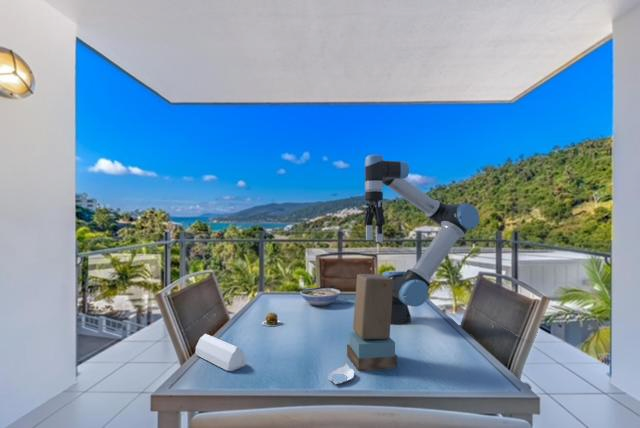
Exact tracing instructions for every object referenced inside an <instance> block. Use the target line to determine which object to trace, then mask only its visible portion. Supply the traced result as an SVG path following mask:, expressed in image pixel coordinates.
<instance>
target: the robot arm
mask: <svg viewBox="0 0 640 428" xmlns="http://www.w3.org/2000/svg"><path fill="white" fill-rule="evenodd" d="M364 171H365V173H364V175H365V177H364V181H365V182H364V190H365V193H364V195H365V197H364V199H365V201H368V202H367V203H366V207H365V208H366V210H365V216H364V225H365V240H366V241H373V225H374V226H375V242H376V243H383V242H384V241H383V240H384V237H383V236H384V234H383V233H384V231H383V229H384V225H385V224H386V222H385V216H384V209H383V202H382V201H383V200H384V193H383V189H384V185H385V186H386V187H387V188H389V189H390V190H391V191H393V192H394V193H396V194H397V195H399V196H400V197H401V198H403V199H405V200H406V201H407V202H409V203H410V204H412V205H413V206H415V207H416V208H418V209H419V210H420V211H422V212H423V213H424V216H425V217H427V219H429V220H431V221H432V222H433V223H436V224H437V225H439V226H440V229H439V231H438V232H437V233H436V235H435V236H434V238H433V239H432V241H430V244H429V245H428V246H427V248H426V249H425V250H424V252H423V253H422V255H421V256H420V257H419V259H418V260H417V261H416V262H415V263H416V264H415V265H414V266H413V267H412V268H408V269H407V270H406V271H404V270H403V271H401V270H400V271H399V270H397V271H395V270H394V271H384V272H382V274H381V275H384V276H386V277H388V278H391V279H393V295H392V310H391V324H390V325H404V324H409V323H411V321H412V317H411V312H410V309H409V307H420V306H422V305H423V304H425V302H426V301H427V300H428V298H429V295H430V294H429V291H430V290H429V287H430V286H431V282H430V281H431V280H430V279H431V278H432V277H433V276H434V274H435V272H436V271H437V270H438V269H439V266H440V265H441V264H442V263H443V261H444V260H445V258H446V257H447V255H448V254H449V252H450V251H451V250H452V248H453V246H454V245H455V244H456V242H457V241H458V239H461V238H464V237H465V236H466V234H467V233H468V232H469V231H471V230H474V229H476V228H477V226H478V225H479V223H480V215H479V214H480V213H479V211H478V209H477V208H476V207H475V206H474V205H472V204H470V203H465V202H464V203H460V204H459V203H457V204H456V203H455V204H446V203H444V202H441V201H440V200H438V199H433V198H432V197H431V196H429V195H428V194H426V193H425V192H424V191H422V190H421V189H419V188H417V186H415V185H413V184H412V183H411V182H409V181H407V180H406V178H407V177H409V174H410V165H409V164H408V162H406V161H401V160H398V161H397V160H384V157H383V155H380V154H369V155H367V156H366V157H365V160H364ZM373 220H375V224H373ZM408 306H409V307H408Z"/></svg>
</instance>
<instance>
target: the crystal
mask: <svg viewBox="0 0 640 428" xmlns="http://www.w3.org/2000/svg"><path fill="white" fill-rule="evenodd" d="M196 354H197V355H196ZM195 355H196V356H197V357H200V358H202V359H203V360H206V361H207V362H209V363H211V364H213V365H215V366H217V367H219V368H222V369H223V370H224V371H227V372H233V371H235V370H239V369H241V368H244V367H245V366H246V365H247V357H246V355H245V353H244V351H243V350H242V349H241V348H239V347H238V346H236V345H233V344H231V343H229V342H226V341H224V340H223V339H222V340H221V339H219V338H217V337H215V336H212V335H209V334H207V333H204V334H203V335H202V336H200V338H199V339H198V342H197V344H196V345H195Z"/></svg>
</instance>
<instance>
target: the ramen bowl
mask: <svg viewBox="0 0 640 428" xmlns="http://www.w3.org/2000/svg"><path fill="white" fill-rule="evenodd" d="M297 292H300V295H301V297H302V298H303V299H304V301H306V302H307V303H309V304H311V305H314V306H315V307H325V306H328V305H329V304H331V303H334V302H336V300H337V299H338V298H339V296H340V295H341V290H339V289H336V288H335V285H328V286H321V287H311V288H310V287H308V288H305V289H299V290H298V289H297Z"/></svg>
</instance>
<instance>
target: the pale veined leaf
mask: <svg viewBox="0 0 640 428" xmlns="http://www.w3.org/2000/svg"><path fill="white" fill-rule="evenodd" d="M333 374H344V375H346V376H347V377H348V378H347V381H350V380H352V379H353V378H354V377H355V370H354V369H353V368H350V367H349V365H348V362H345V364H344V365H343V366H341V367H338V368H335V369H334V370H333V371H331V372H329V373H328V374H327V378H328V380H329V381H331V382H333V383H334V385H337V384H338V383H337V382H335V381H336V380H335V381H333V380H332V376H333ZM346 376H345V377H346ZM347 381H345V380H344V381H339V382H340V383H339V384H342V383H346V382H347Z"/></svg>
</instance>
